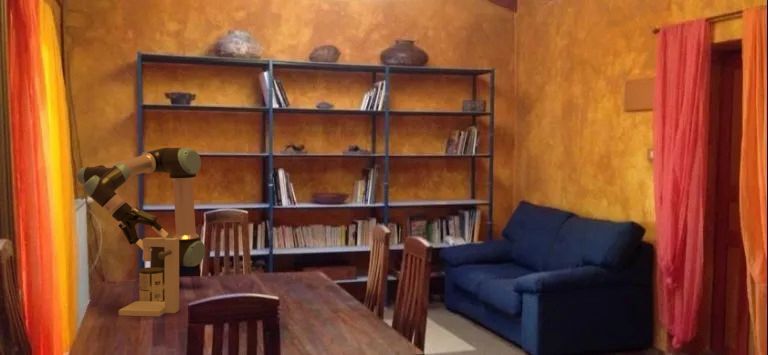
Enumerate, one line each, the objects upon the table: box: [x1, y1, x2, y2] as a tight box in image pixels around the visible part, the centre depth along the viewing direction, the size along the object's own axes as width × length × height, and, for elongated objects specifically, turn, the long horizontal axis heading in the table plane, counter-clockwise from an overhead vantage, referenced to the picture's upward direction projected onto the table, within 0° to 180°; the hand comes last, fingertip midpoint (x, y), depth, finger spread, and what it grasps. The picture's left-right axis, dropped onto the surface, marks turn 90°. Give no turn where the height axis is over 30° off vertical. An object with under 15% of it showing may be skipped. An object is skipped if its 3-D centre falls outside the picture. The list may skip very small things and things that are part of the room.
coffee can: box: [138, 266, 165, 302], centre depth 292 cm, size 10×10×14 cm
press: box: [118, 237, 180, 317], centre depth 274 cm, size 20×20×29 cm
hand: (158, 245), depth 278 cm, fingers open, 14 cm apart
